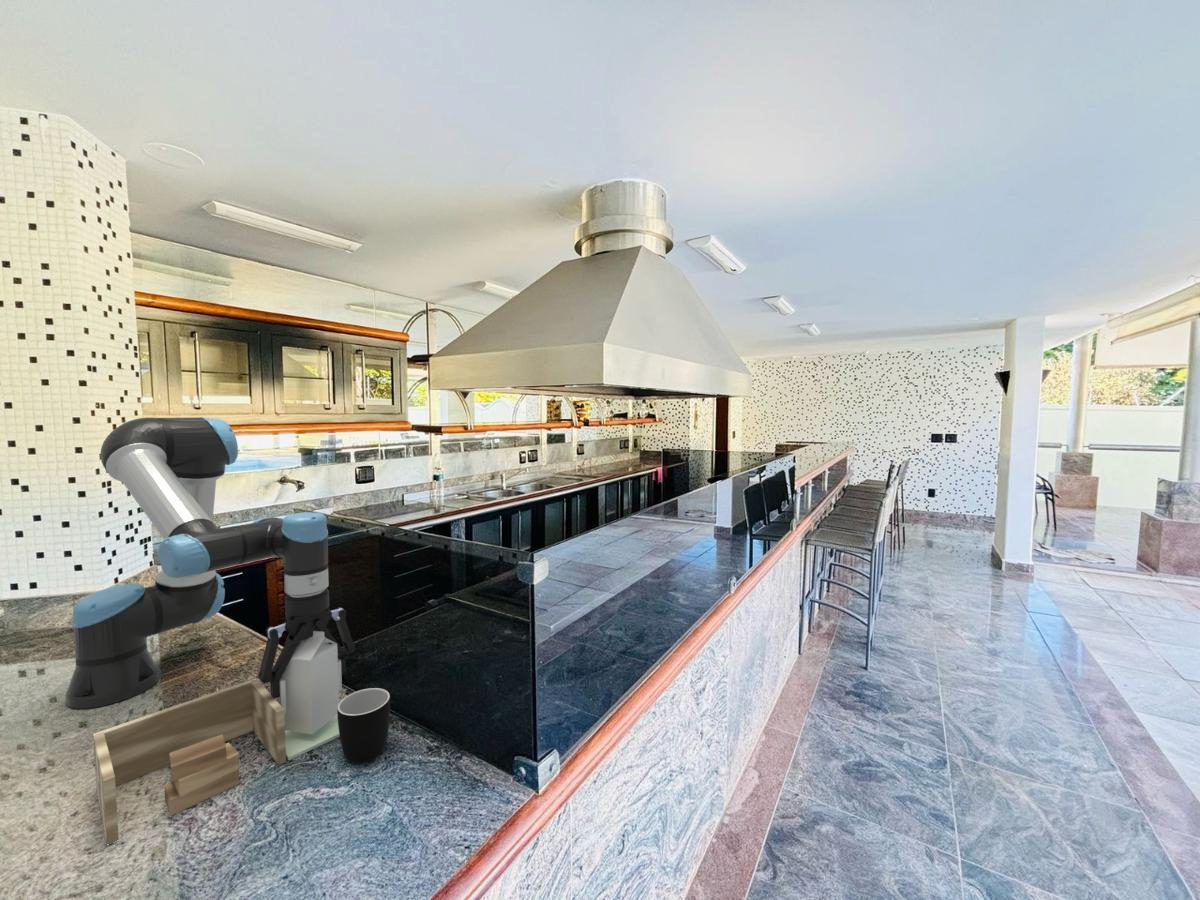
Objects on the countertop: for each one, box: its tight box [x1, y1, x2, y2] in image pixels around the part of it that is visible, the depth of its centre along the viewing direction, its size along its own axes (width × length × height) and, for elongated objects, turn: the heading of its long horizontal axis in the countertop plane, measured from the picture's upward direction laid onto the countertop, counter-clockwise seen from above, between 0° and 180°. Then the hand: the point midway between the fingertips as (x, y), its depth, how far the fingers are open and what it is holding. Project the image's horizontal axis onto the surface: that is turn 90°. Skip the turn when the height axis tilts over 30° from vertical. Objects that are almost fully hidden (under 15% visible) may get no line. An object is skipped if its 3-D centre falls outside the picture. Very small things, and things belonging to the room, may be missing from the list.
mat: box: [285, 715, 340, 761], centre depth 98 cm, size 12×12×1 cm
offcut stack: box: [163, 734, 240, 817], centre depth 82 cm, size 6×9×8 cm, turn 140°
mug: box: [337, 687, 391, 764], centre depth 92 cm, size 12×9×10 cm
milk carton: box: [282, 631, 340, 734], centre depth 97 cm, size 7×7×19 cm
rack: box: [92, 677, 287, 845], centre depth 85 cm, size 17×23×10 cm
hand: (310, 699), depth 97 cm, fingers closed on milk carton, 9 cm apart
